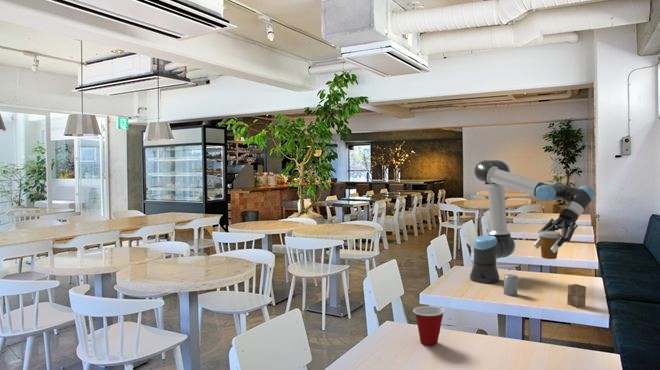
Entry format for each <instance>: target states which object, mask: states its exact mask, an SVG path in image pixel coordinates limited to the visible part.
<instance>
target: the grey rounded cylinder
mask: <svg viewBox="0 0 660 370" xmlns="http://www.w3.org/2000/svg"><path fill="white" fill-rule="evenodd" d="M503 295H505V296H509V297H516V296H518V275H517V274H511V273H509V274H507V273H506V274H504V276H503Z"/></svg>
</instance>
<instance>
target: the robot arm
mask: <svg viewBox="0 0 660 370" xmlns="http://www.w3.org/2000/svg"><path fill="white" fill-rule="evenodd" d="M473 171H474V176H475V178H476V179H477V180H479V181H480V182H484V185H485V187H486V188H487V190H488V191H487V192H488V206H489V207H488V209H489V223H490V231H489V232H488V234H485V235H478V236H476V237H475V238H474V240H473V241H474V242H473V265H472V268H471V270H470V274H469V280H470V281H472V280H473V281H472V282H476V283H481V284H496V283H497V284H498V283H499V282H500V275H499V271H498V267H497V259H502V258H507V257H509V256H511V255H512V254H513V253H514V252H515V249H516V242H515V240H514V239H513V237H512V236H511V232H510V231H509V230H508V223H507V208H506V205H507V204H506V194H505V192H506V191H505V187H506V188H508V189H511V190H514V191H517V192H520V193H523V194H527V195H530V196H532V197H536V198H537V199H538V200H539V201H543V202H551V201H565V202H567V204H566V205H564V207H563V209H562V210H561V212H560V213H559V215H558V218H557V219H554V218H551V219H550V220H549V221H548V223H546V224H545V225H544V226H543V227H542V228H541V229H540V230H538V232H537V234H539V232H540V231H558V230H561V231H560V235H561V237H560V238H558V239H557V241H556V242H555V243H554V245H553V246H552V247H551V250H552V251H553V253H555V252H556V251H557V250H558V251H559V249H560V248H561V247H562V246H563V244H564V243H565V242H568V243H569V242H570V241H571V239H572V237H573V235H574V233H575V231H576V229H577V228H578V224H577V221H578V219H579V218H580V217H581V215H582V214H583V212H584V211H585V210H586V208H587V207H588V206H589V204H591V202H592V201H593V199H594V198H595V196H596V192H595V190H594V189H593V188H592V187H590V185H589V186H588V185H580V187H578V188H577V187H573V186H570V185H567V184H565V183H562V182H557V181H553V182H551V183H550V184H549V183H545V182H541V181H539V180H536V179H532V178H528V177H525V176H522V175H519V174H515V173H512V172H511V169H510V166H509V165H508V163H506V162H505V161H503V160H498V159H496V160H484V159H483V160H482V161H479V162H477V164H476V165H475V167H474V170H473ZM533 247H535V249H536V250H538V249H539V248H541V247H540V237H539V236H538V237H537V239H536V241H535V242H534V244H533Z"/></svg>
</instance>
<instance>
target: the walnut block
mask: <svg viewBox="0 0 660 370" xmlns="http://www.w3.org/2000/svg"><path fill="white" fill-rule="evenodd" d="M586 293H587V286H585V285H581V284H578V283H573V284H572V283H571V284H568V285H567V298H566V299H567V301H566V303H567V305H568V306H569V305H570V307H572V306H573V308H575V307H576V308H575V309H579V307H581V308H586V299H587V298H586V297H587V294H586Z"/></svg>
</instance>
